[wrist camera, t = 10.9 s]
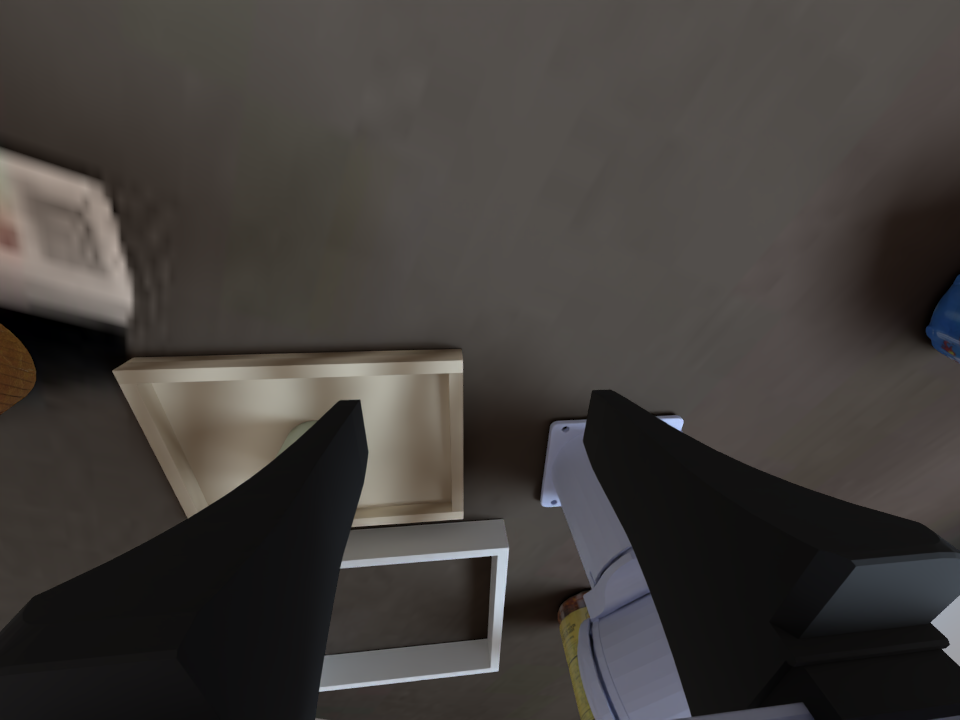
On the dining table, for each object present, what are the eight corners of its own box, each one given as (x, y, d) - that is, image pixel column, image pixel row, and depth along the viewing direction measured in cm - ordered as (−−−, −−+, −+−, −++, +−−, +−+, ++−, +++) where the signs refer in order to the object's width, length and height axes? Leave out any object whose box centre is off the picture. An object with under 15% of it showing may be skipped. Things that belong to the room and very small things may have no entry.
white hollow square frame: (503, 519, 29) (508, 547, 27) (494, 641, 38) (498, 671, 36) (258, 536, 27) (242, 569, 25) (307, 661, 36) (299, 693, 34)
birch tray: (461, 348, 22) (462, 360, 20) (462, 502, 28) (463, 519, 26) (133, 357, 20) (112, 370, 19) (210, 519, 26) (198, 538, 25)
